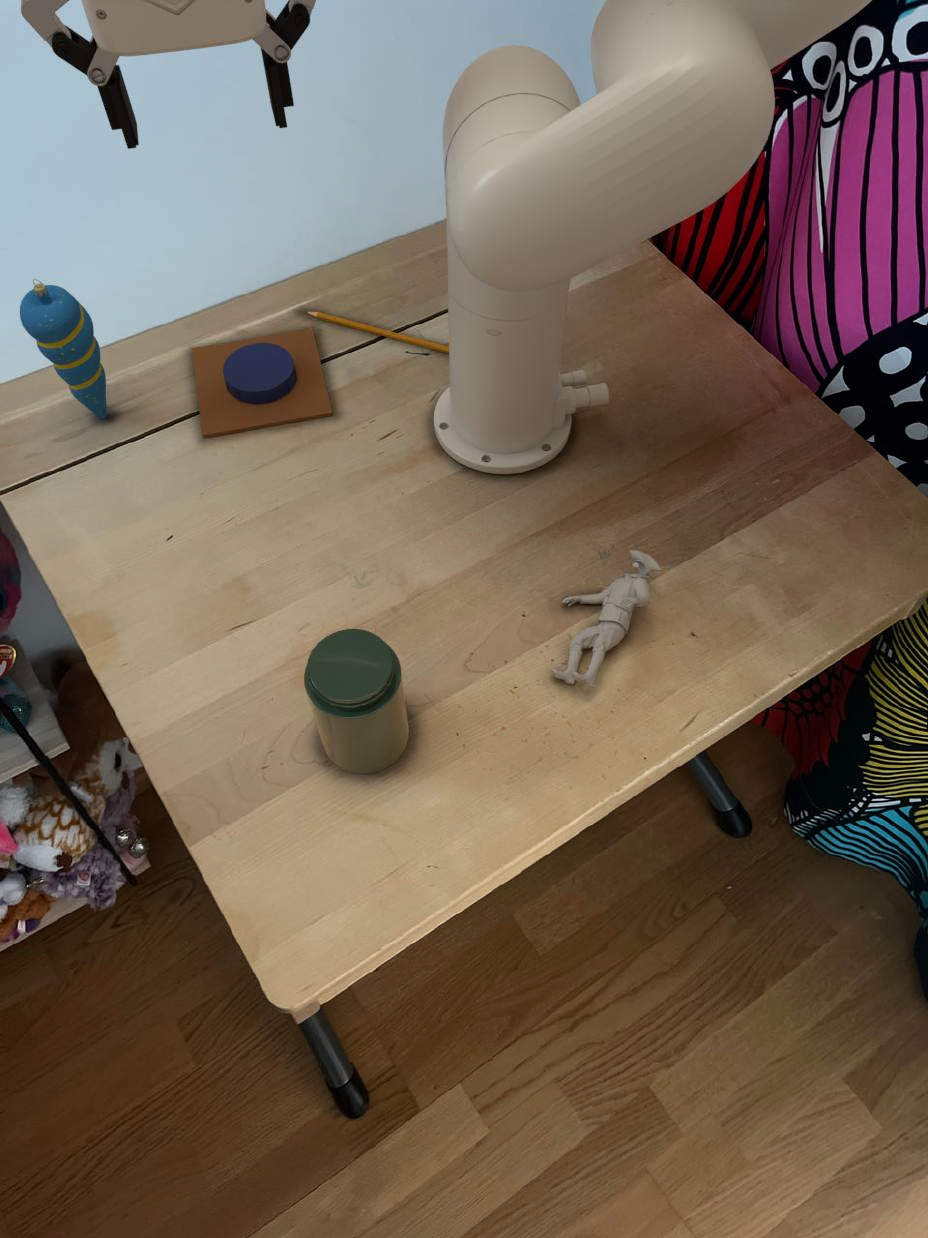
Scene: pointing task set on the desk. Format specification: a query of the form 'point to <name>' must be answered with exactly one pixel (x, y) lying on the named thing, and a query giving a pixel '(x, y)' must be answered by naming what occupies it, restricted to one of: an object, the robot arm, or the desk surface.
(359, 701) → the jar
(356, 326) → the pencil
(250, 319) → the desk surface
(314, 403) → the mat
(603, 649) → the soldier figure
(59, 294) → the ornament
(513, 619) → the desk surface
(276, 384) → the jar lid
